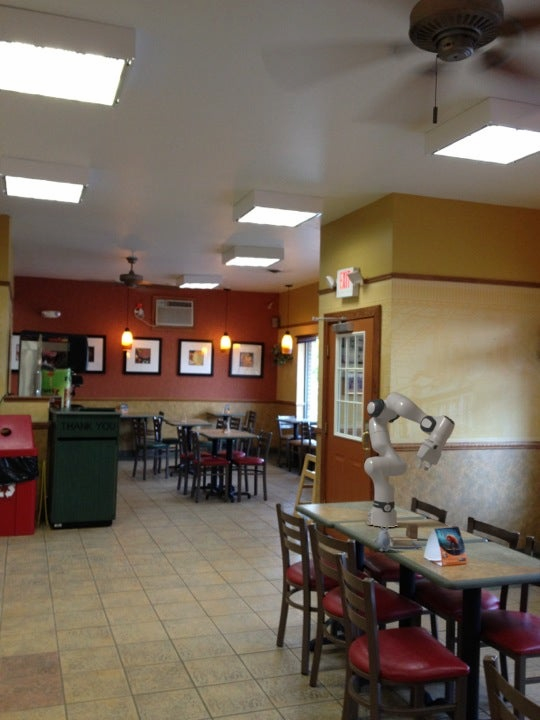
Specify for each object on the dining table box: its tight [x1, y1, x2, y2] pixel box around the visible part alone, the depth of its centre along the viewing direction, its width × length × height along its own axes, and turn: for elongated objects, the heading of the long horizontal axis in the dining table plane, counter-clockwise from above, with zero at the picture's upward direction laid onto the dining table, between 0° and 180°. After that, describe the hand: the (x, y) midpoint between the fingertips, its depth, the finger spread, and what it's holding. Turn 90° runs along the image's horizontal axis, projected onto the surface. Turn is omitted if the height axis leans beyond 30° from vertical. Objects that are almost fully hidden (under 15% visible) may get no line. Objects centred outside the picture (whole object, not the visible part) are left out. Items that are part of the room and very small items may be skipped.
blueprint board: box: [389, 541, 423, 550], centre depth 330 cm, size 16×16×1 cm
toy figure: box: [373, 526, 394, 552], centre depth 316 cm, size 11×6×12 cm, turn 101°
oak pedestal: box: [389, 534, 414, 546], centre depth 329 cm, size 10×10×3 cm
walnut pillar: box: [405, 522, 419, 540], centre depth 344 cm, size 4×4×8 cm
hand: (421, 468), depth 344 cm, fingers open, 8 cm apart
